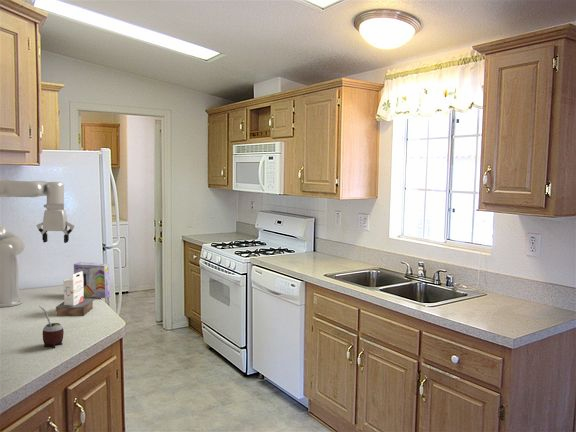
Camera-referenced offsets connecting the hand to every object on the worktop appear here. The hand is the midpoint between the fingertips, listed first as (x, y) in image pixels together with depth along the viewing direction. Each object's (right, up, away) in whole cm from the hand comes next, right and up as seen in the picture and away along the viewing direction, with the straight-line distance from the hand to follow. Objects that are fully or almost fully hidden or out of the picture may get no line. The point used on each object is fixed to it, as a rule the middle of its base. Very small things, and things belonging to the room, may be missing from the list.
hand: (55, 242), depth 229 cm
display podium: (+14, -32, -10) cm, 36 cm away
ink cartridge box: (+14, -28, -10) cm, 33 cm away
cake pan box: (+10, -30, +17) cm, 36 cm away
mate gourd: (+24, -36, -52) cm, 68 cm away
